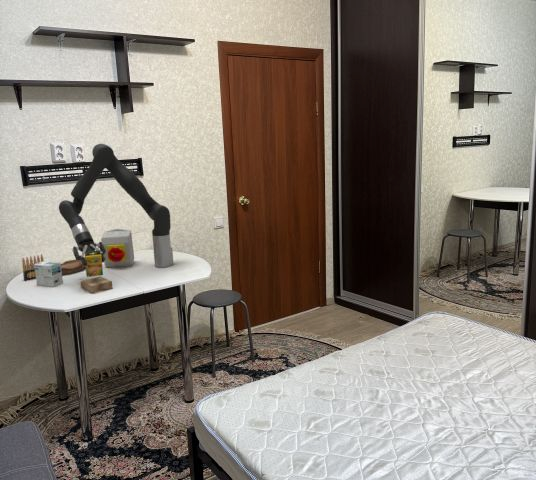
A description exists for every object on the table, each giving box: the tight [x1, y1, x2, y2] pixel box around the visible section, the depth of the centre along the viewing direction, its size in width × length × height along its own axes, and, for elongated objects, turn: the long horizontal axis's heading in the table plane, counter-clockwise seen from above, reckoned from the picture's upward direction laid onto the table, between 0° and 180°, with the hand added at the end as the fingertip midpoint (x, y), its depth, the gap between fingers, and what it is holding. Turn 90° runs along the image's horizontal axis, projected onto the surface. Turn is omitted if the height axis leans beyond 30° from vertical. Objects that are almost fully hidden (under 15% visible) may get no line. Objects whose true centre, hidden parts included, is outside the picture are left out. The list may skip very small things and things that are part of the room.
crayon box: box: [84, 249, 104, 278], centre depth 233 cm, size 7×3×12 cm, turn 114°
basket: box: [61, 258, 86, 276], centre depth 268 cm, size 22×20×5 cm
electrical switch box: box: [100, 228, 135, 268], centre depth 271 cm, size 15×15×20 cm
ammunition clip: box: [21, 254, 45, 282], centre depth 253 cm, size 11×2×12 cm, turn 131°
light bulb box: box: [33, 260, 64, 288], centre depth 243 cm, size 11×7×11 cm, turn 71°
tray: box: [79, 275, 113, 295], centre depth 235 cm, size 10×12×4 cm
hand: (95, 263), depth 232 cm, fingers closed on crayon box, 8 cm apart
